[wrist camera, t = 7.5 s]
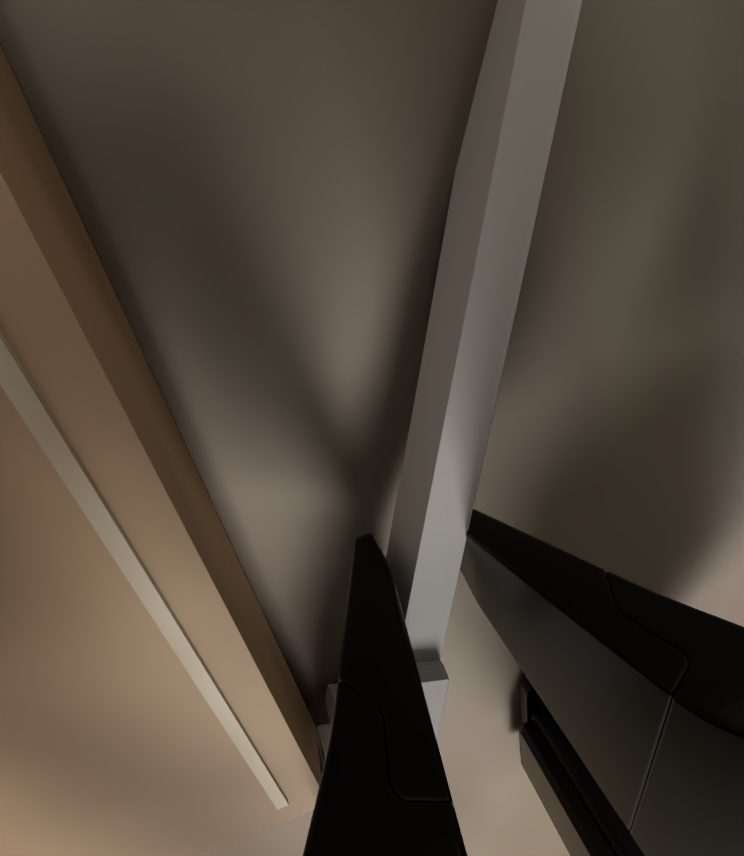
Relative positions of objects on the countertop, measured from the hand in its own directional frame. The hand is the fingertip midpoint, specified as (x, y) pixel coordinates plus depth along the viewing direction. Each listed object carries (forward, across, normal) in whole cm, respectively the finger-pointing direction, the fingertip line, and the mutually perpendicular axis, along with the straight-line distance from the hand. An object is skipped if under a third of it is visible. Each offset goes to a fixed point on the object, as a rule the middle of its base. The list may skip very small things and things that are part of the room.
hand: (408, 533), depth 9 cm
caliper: (+2, 0, -1) cm, 2 cm away
